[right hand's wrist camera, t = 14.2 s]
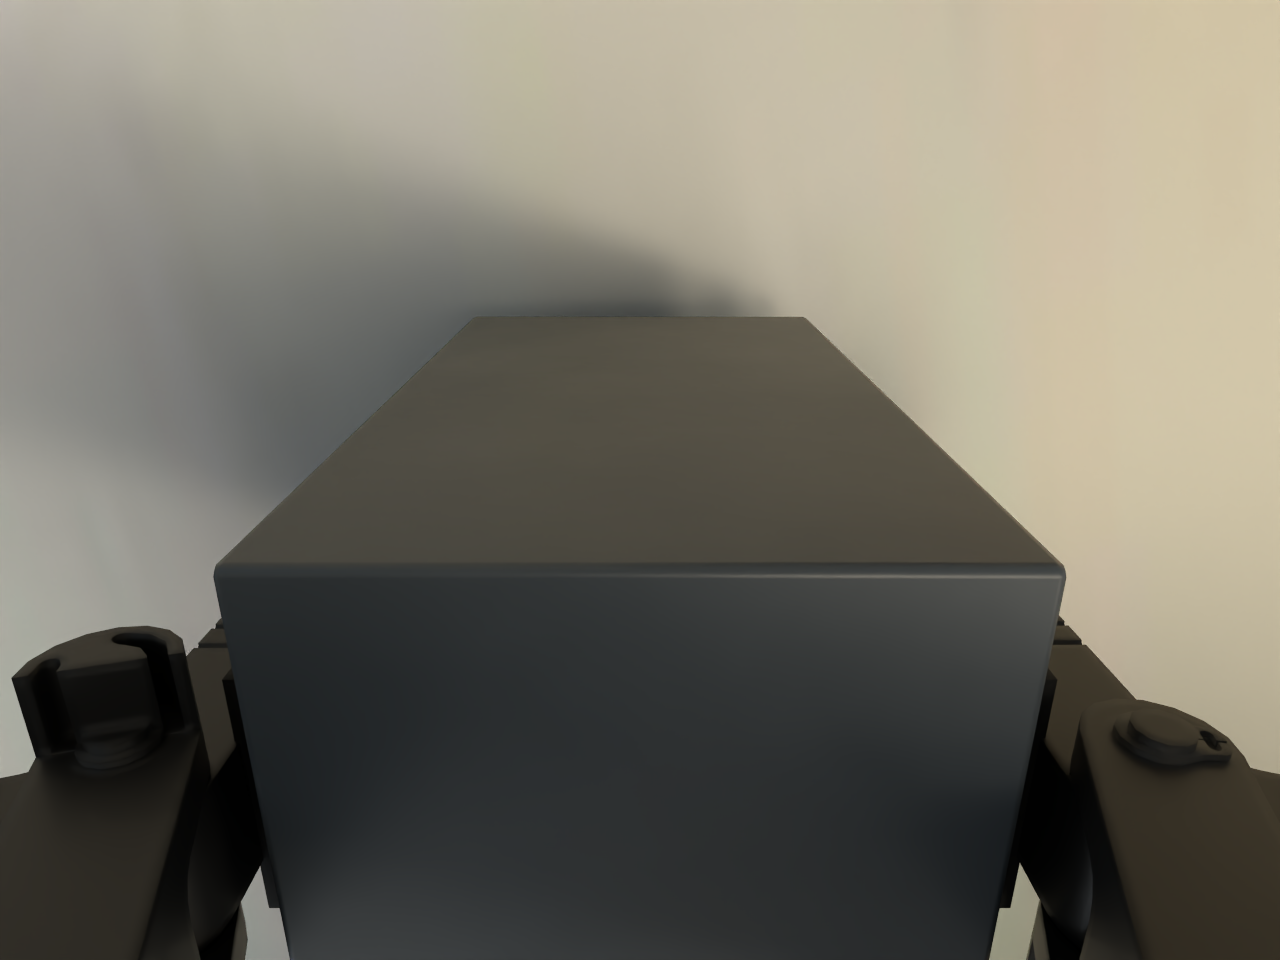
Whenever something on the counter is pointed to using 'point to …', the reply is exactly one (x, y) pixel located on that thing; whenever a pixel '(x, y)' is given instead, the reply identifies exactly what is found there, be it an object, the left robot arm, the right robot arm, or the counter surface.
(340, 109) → the counter surface
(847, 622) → the cap block
